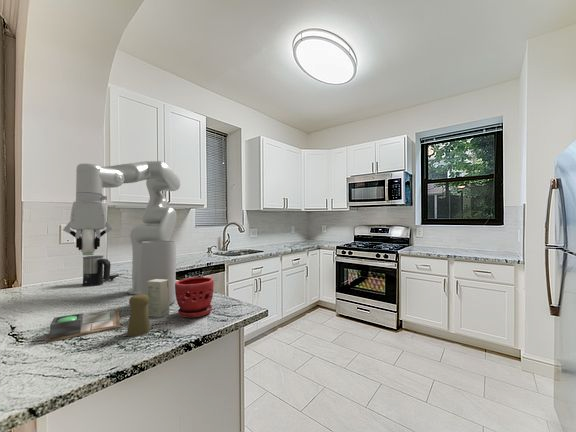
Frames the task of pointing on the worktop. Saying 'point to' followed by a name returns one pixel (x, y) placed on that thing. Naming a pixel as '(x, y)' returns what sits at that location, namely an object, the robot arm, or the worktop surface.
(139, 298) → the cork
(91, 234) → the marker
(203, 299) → the plant pot
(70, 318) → the button
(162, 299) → the skincare box
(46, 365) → the worktop surface
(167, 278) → the cylinder vase
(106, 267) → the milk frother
